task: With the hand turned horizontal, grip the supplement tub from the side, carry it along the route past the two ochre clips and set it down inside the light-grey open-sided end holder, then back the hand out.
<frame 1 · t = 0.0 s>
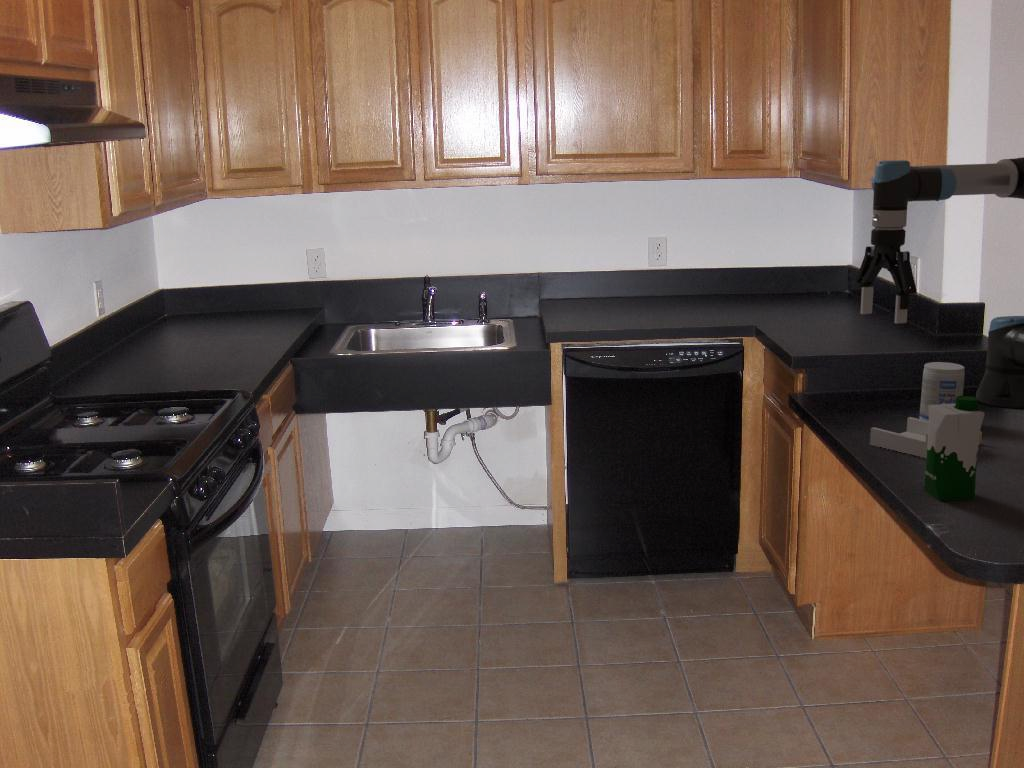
hand: (882, 318, 247), 28 cm above the worktop, tool pointing down, fingers open, 13 cm apart
clip A: (963, 433, 250), on the worktop
end holder: (918, 446, 241), on the worktop
milk carton: (948, 495, 209), on the worktop
clip B: (971, 444, 241), on the worktop
supplement tub: (939, 423, 259), on the worktop
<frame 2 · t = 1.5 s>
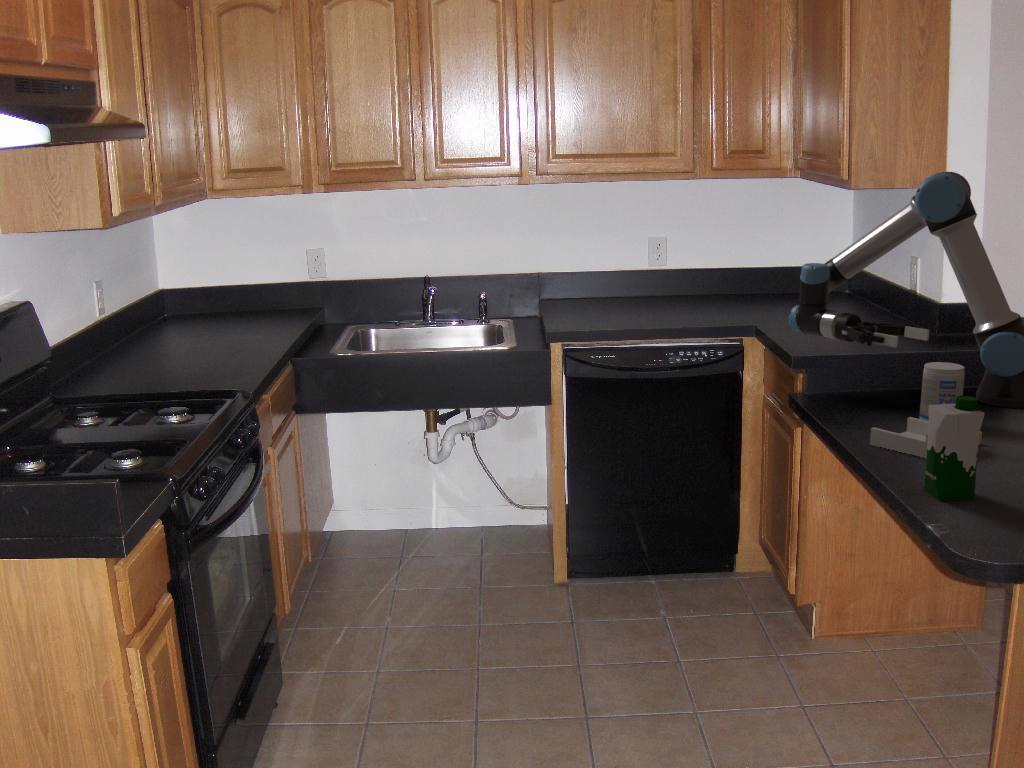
hand: (912, 338, 262), 20 cm above the worktop, tool horizontal, fingers open, 13 cm apart
nothing on the worktop moved.
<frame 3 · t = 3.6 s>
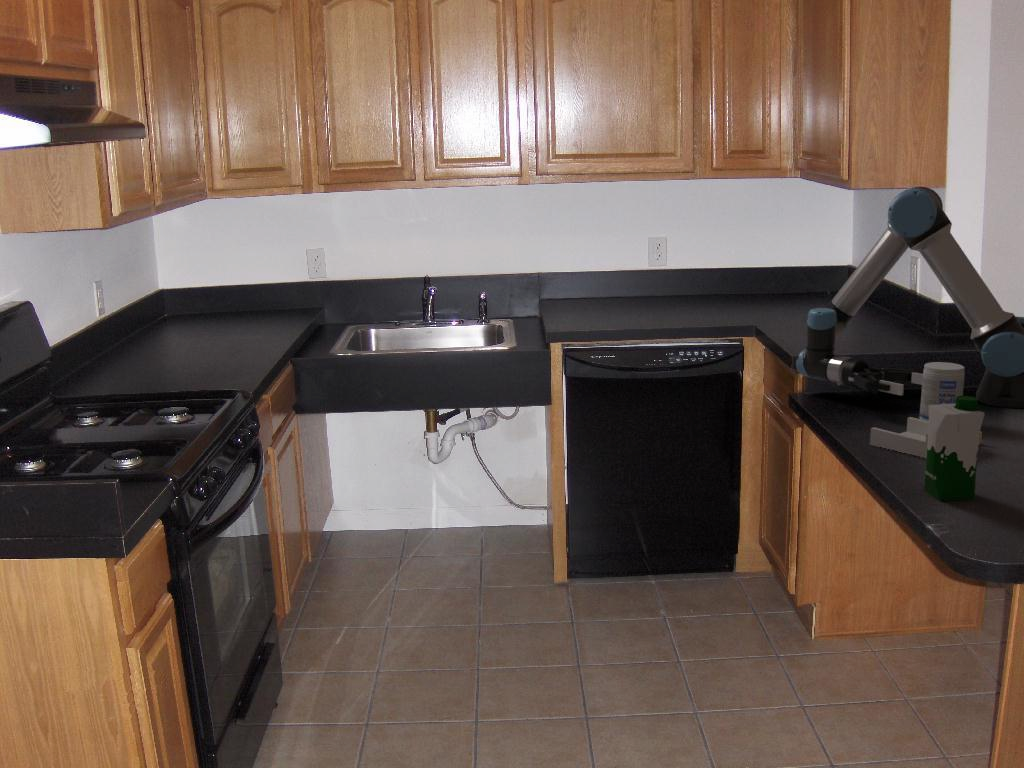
hand: (919, 386, 262), 8 cm above the worktop, tool horizontal, fingers open, 13 cm apart
nothing on the worktop moved.
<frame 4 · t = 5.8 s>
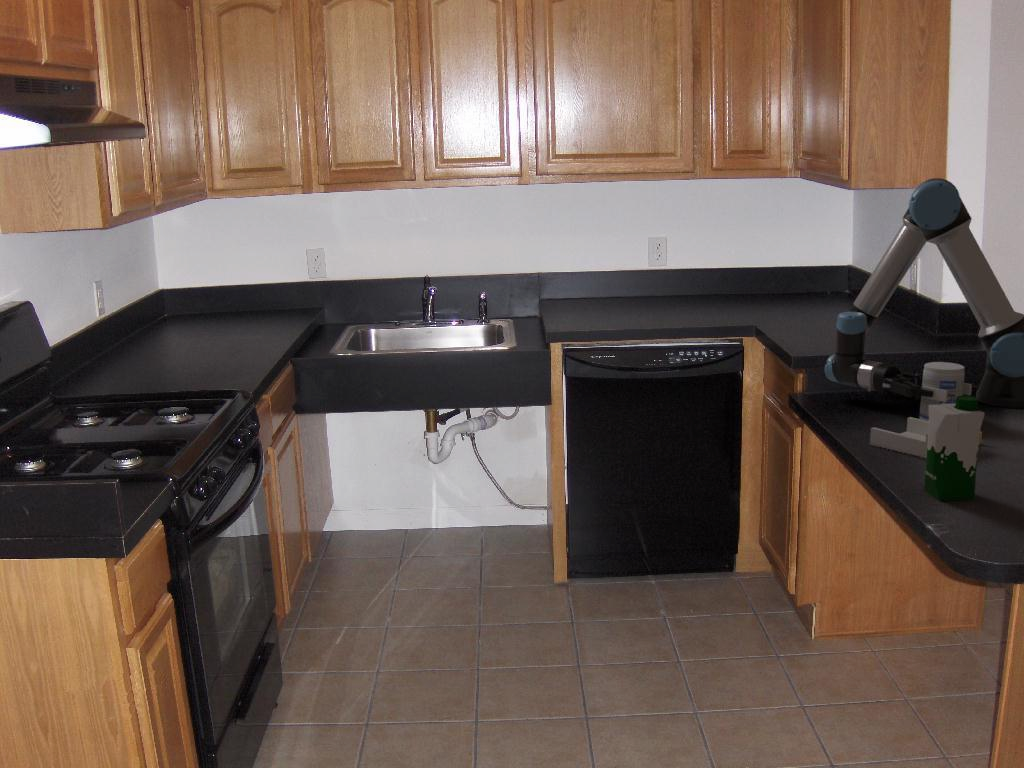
hand: (958, 393, 254), 9 cm above the worktop, tool horizontal, fingers closed on supplement tub, 9 cm apart
supplement tub: (939, 423, 259), on the worktop, touching gripper
everything else where it was.
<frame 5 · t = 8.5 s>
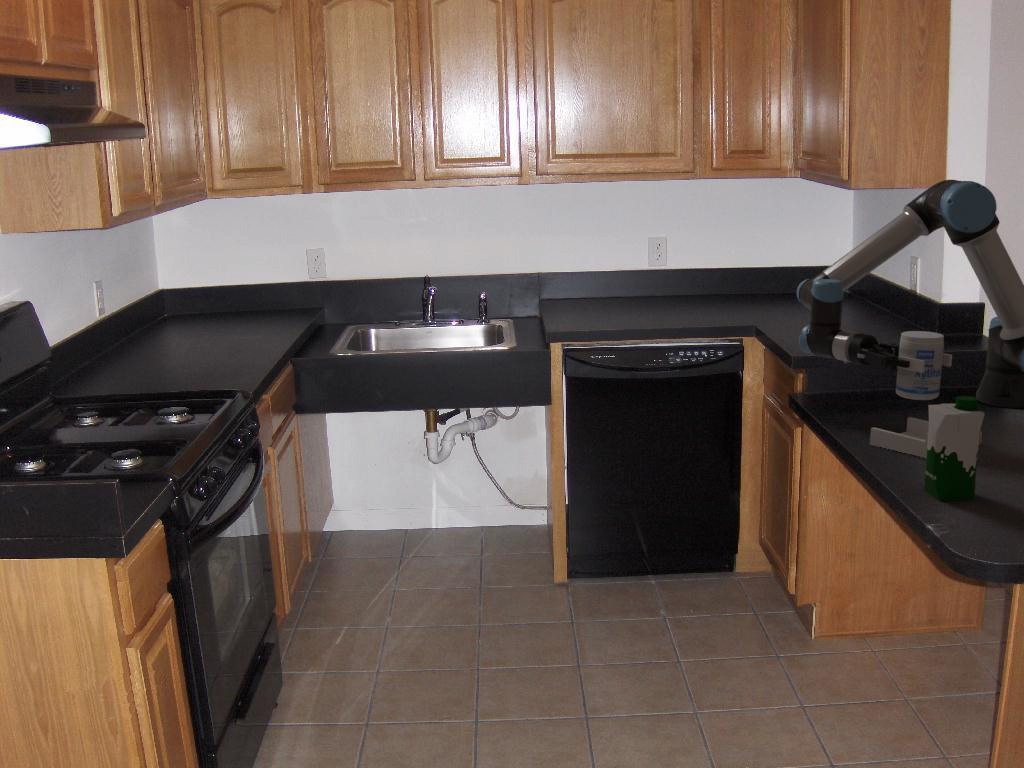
hand: (937, 363, 237), 19 cm above the worktop, tool horizontal, fingers closed on supplement tub, 9 cm apart
supplement tub: (917, 396, 242), point 11 cm above the worktop, touching gripper
everything else where it was.
when the fingers open (10 cm above the worktop, at t = 11.1 s): supplement tub stays where it is, resting on end holder.
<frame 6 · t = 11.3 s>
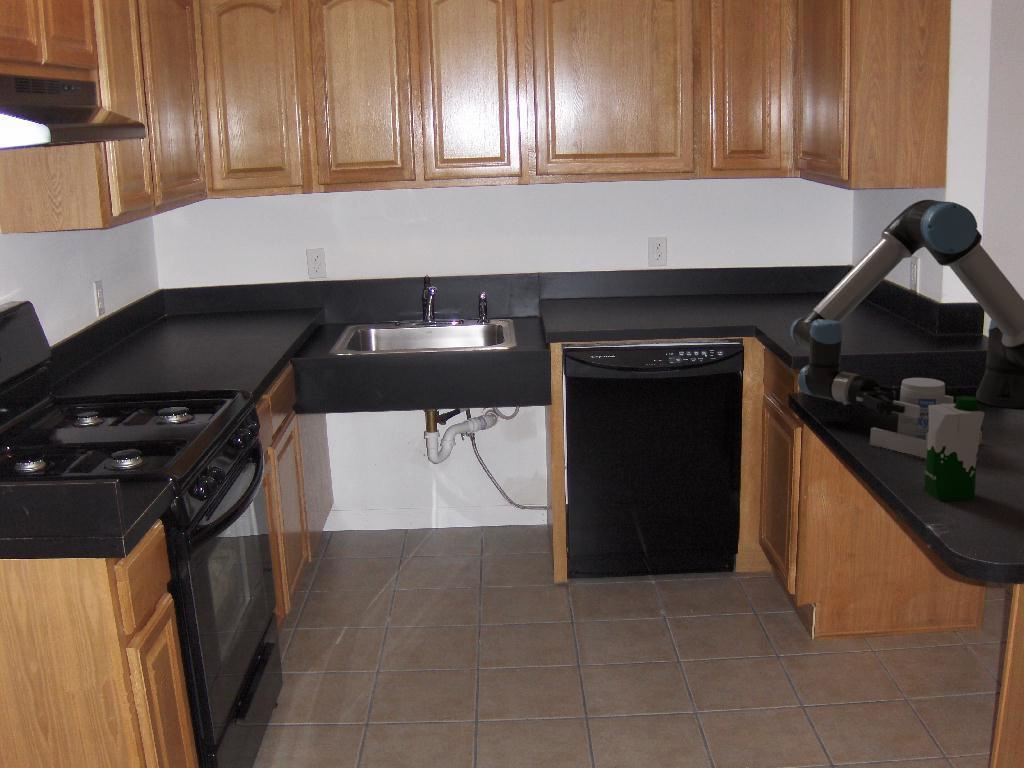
hand: (935, 407, 236), 10 cm above the worktop, tool horizontal, fingers open, 12 cm apart
supplement tub: (918, 444, 241), resting on end holder
everything else where it was.
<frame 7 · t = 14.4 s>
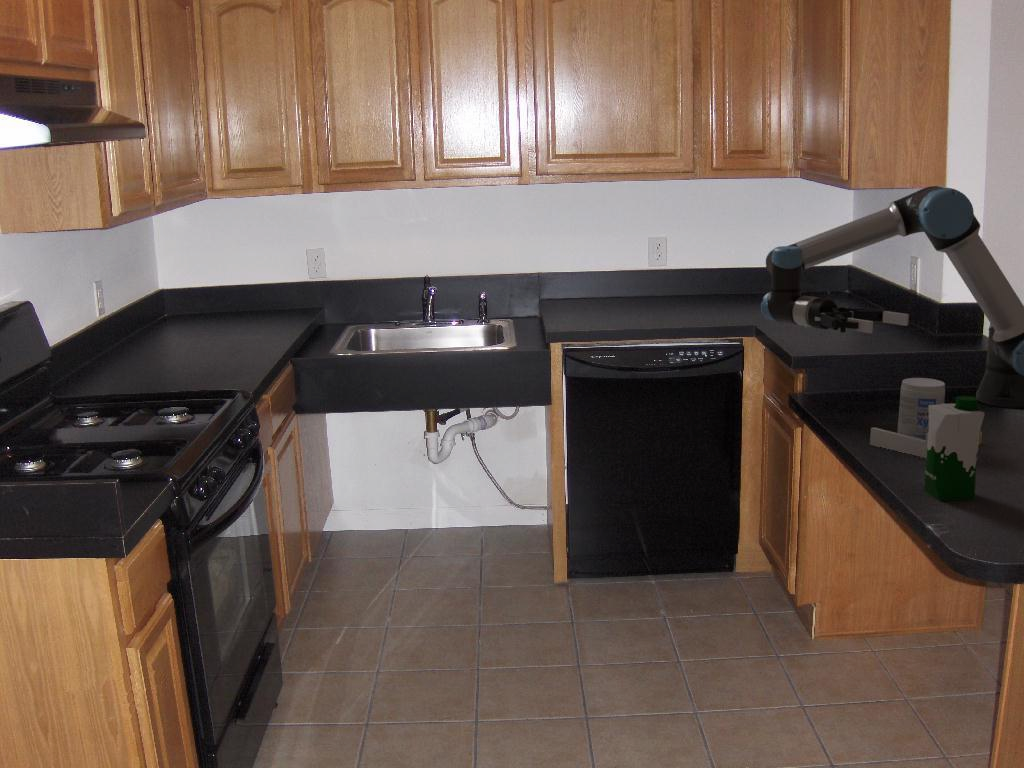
hand: (890, 323, 242), 28 cm above the worktop, tool horizontal, fingers open, 13 cm apart
nothing on the worktop moved.
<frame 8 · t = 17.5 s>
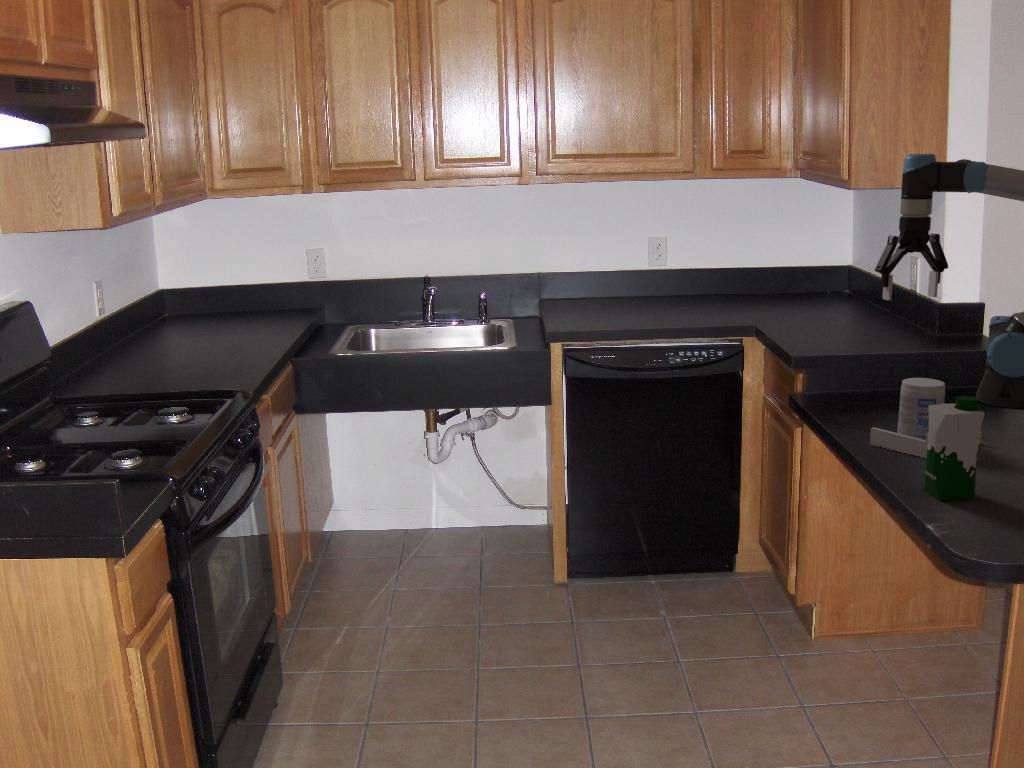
hand: (909, 298, 270), 29 cm above the worktop, tool pointing down, fingers open, 13 cm apart
nothing on the worktop moved.
at the end: supplement tub inside the target area on the end holder (0.1 cm from its centre), point 0.4 cm above the end holder's base; supplement tub tilted 0°; the gripper is holding nothing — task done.
